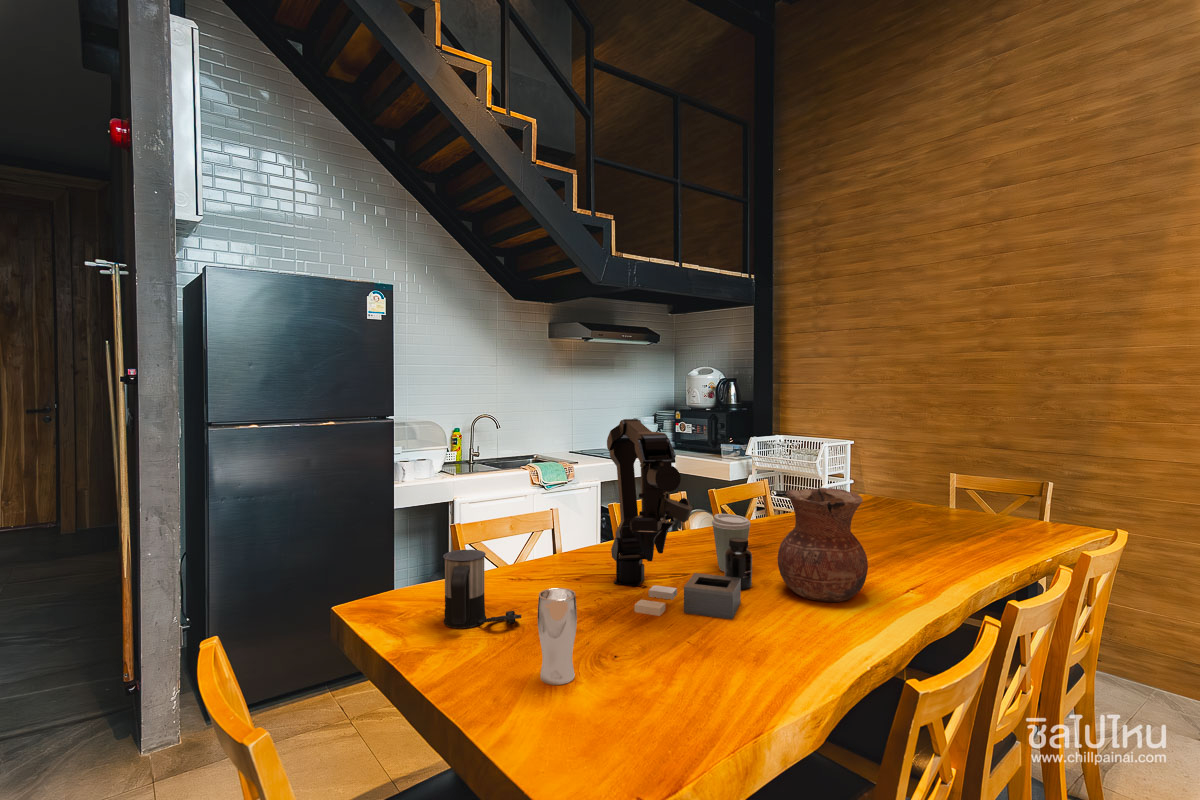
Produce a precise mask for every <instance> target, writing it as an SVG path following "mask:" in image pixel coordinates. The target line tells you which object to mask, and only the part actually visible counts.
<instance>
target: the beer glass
mask: <svg viewBox="0 0 1200 800" xmlns="http://www.w3.org/2000/svg"><path fill="white" fill-rule="evenodd" d="M576 596H577V594H576V591H574V590H573V589H570V588H565V587H551V588H546V589H543V590H541V591H540V592H539V593H538V602H537V603H538V604H537V629H538V635H539V636H538V637H539V642H540V647H541V653H542V654H541V656H542V659H541V660H542V663H541V669H540V677H539V678H540V680H541V681H542V682H543V683H544V684H547V685H551V686H561V685H566V684H569V683H571V682H572V681H573V680H574V679H575V669H574V663H573V651H574V645H575V639H576V632H577V625H578V624H577V623H578V609H577V597H576Z"/></svg>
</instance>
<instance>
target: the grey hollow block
mask: <svg viewBox="0 0 1200 800" xmlns="http://www.w3.org/2000/svg"><path fill="white" fill-rule="evenodd" d="M741 591H742V590H741V578H736V577H727V576H725V575H716V574H707V573H698V572H694V573H693V575H691V577H690V579H688V580H687V582H686V583H685V585H684V586H683V614H688V615H696V616H704V617H711V618H719V619H726V620H733V619H734V618H735V615H736V613H737V611H738V610H739V607H740V605H741Z"/></svg>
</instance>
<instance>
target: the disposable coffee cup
mask: <svg viewBox="0 0 1200 800" xmlns="http://www.w3.org/2000/svg"><path fill="white" fill-rule="evenodd" d="M711 525H712V529H713V537H714V545H715V552H716V557H717V558H716V559H717V565H718V567H719V570H720V571H721V572H724V573H725V552H726V550H727V549H729V548H730V547H729V539H730V538H745V539H747V540H748V541H749V534H750V528H751V520H749V518H747V517H745V516H741V515H738V514H731V513H716V514H715V515H713V519H712V521H711Z"/></svg>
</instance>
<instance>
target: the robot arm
mask: <svg viewBox="0 0 1200 800" xmlns="http://www.w3.org/2000/svg"><path fill="white" fill-rule="evenodd" d="M641 421H642V420H640V419H638V418H623V419H622V420H620V422H619V424H618V425H616V426H615V427H614V428H612V429H610V431H609V433H608V436H607V439H606V448H607V450H608V451H609V457H610V459H611V461H612V462H613V464H614V465H615V466H616V473H617V485H618V489H617V490H618V500H619V512H620V523H619V524H618V527H617V529H616V530H615V537H614V540H613V543H612V545H611V549H610V553H611V558H612V559H613V560H614V561H615V565H616V567H615V571H616V572H615V574H616V575H615V576H616V577H615V580H614V581H613V584H615V585H622V586H630V587H631V586H632V587H638V586H639V585H640V584H641V583H642V582H644V581H645V564H644V563H643V560H645V561H647V562H652V561H653V559H654V552H655V549H656V551H657V553H658V554H663V553H664V549H665V544H666V540H667V536H668V532H669V530H670V528H671V527H672V526H673V525H675V524H676V521H677V520H678V522H681V523H686V522H688V521H689V518H690V516H691V513H692V512H693V505H691V504H690V499H688V498H686V497H682V498H681V499H679V501H678V500H677V499H676V500H675V499H672V498H671V497H670V496H671V495H670V492H673V491H675V490H676V489H677V488H679V486H680V483H681V479H682V478H681V475H680V472H679V470H678V468H677V467H675V466H673V465H672V464H675V463H676V456H677V455H676V452H675V450H674V448H673V445H672V442H671V439H670V438H669V437H668V435H667V434H666V433H664V432H660V431H659V432H657V431H652V430H650V429H649V428H648V427H647V426H646V425H644V424H643V423H642V422H641ZM637 459H638V461H639V467H640V486H641V487H640V489H641V490H640V492H639V493H638V498H639V499H640V500H641V510H640V511H639V510H638V498H637V489H636V488H637V487H636V477H635V476H636V475H635V462H636V460H637ZM638 513H639V514H638Z"/></svg>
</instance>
